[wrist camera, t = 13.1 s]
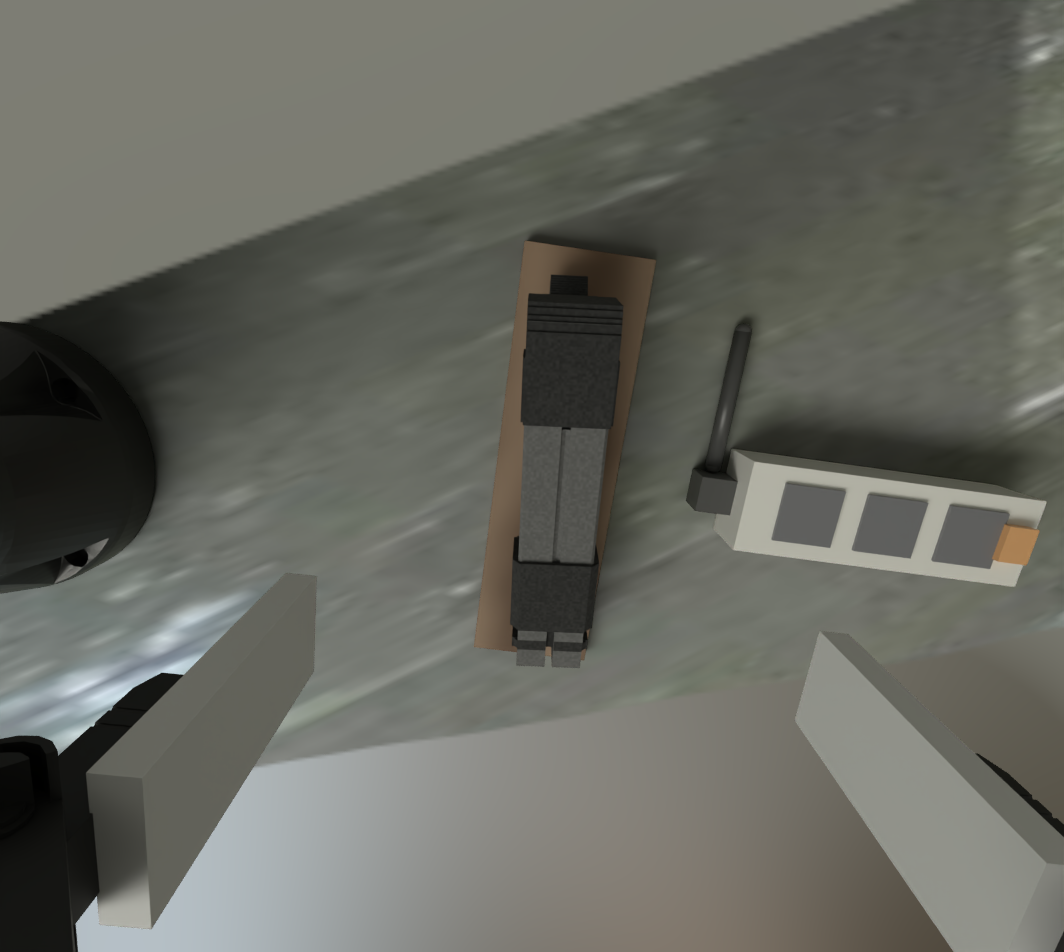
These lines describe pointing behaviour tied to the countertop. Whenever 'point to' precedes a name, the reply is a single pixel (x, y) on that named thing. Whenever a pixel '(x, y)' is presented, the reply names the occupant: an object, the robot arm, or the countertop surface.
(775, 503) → the power strip
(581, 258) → the walnut board
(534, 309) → the gun
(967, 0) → the countertop surface
